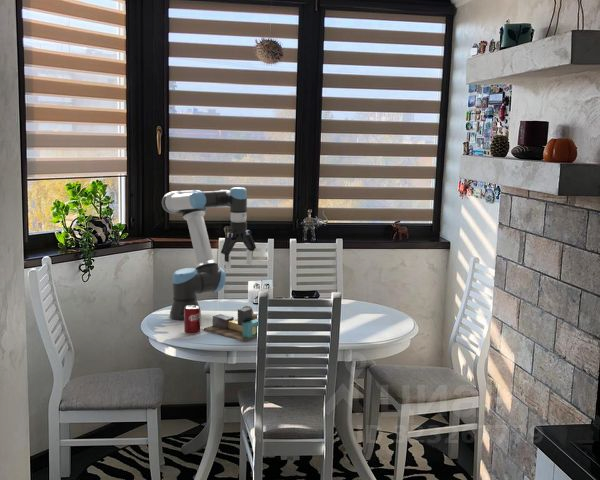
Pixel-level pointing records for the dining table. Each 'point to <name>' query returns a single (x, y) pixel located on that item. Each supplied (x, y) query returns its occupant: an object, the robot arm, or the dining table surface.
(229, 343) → the dining table surface
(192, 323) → the soda can
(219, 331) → the base board
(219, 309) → the dining table surface
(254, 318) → the pipe
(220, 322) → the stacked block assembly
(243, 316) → the square head mallet
